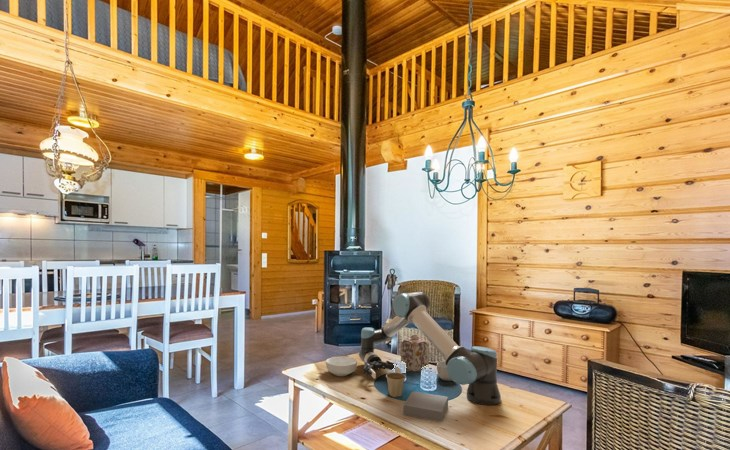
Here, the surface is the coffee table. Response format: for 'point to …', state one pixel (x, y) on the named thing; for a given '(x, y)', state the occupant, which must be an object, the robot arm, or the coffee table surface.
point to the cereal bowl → (341, 365)
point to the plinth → (426, 406)
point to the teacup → (443, 371)
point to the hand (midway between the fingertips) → (387, 374)
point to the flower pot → (395, 383)
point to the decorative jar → (415, 352)
